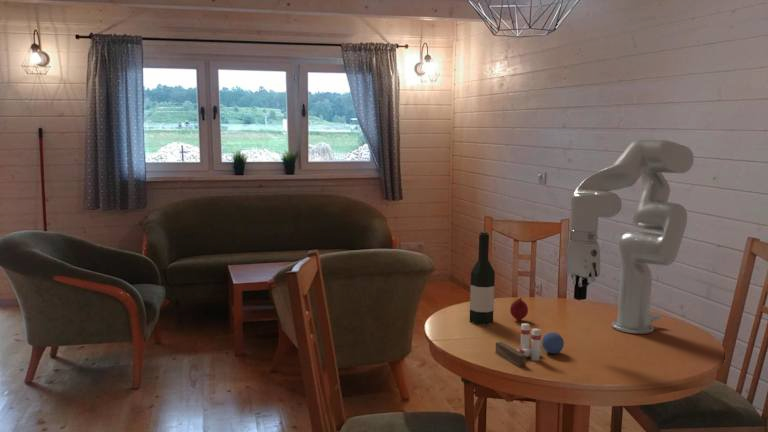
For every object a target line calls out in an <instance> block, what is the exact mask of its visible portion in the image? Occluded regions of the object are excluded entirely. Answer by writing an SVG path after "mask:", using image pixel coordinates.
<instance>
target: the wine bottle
mask: <svg viewBox="0 0 768 432" xmlns="http://www.w3.org/2000/svg"><path fill="white" fill-rule="evenodd" d="M478 239H479V240H478V259H477V261H476V262H475V264H474V265H473V267H472V269H471V270H470V291H469V292H470V295H469V296H470V297H469V298H470V299H469V322H470V323H472V322H473V323H472V324H474V323H475V325H482V324H485V326H488V325H491V324H494V307H495V306H494V305H495V282H496V281H495V280H496V279H495V278H496V272H495V269H494V267H493V265H492V264H491V262H490V260H489V251H490V250H489V248H490V247H489V246H490V234H489V232H488V231H485V230H484V231H483V230H482V231H480V233H479V235H478ZM490 323H491V324H490Z"/></svg>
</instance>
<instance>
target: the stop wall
mask: <svg viewBox="0 0 768 432" xmlns="http://www.w3.org/2000/svg"><path fill="white" fill-rule="evenodd" d="M517 350H518V349H515V348H514V347H512V346H511V345H509V344H507V343H505V342H503V341H498V342H495V354H497V355H499V356H500V357H502V358H504V359H505V360H507V361H508V362H510V363H512V364H514V365H515V366H517V367H518V368H522V367H527V357H526V355H524V354H523V353H521V352H519V351H517Z"/></svg>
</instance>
